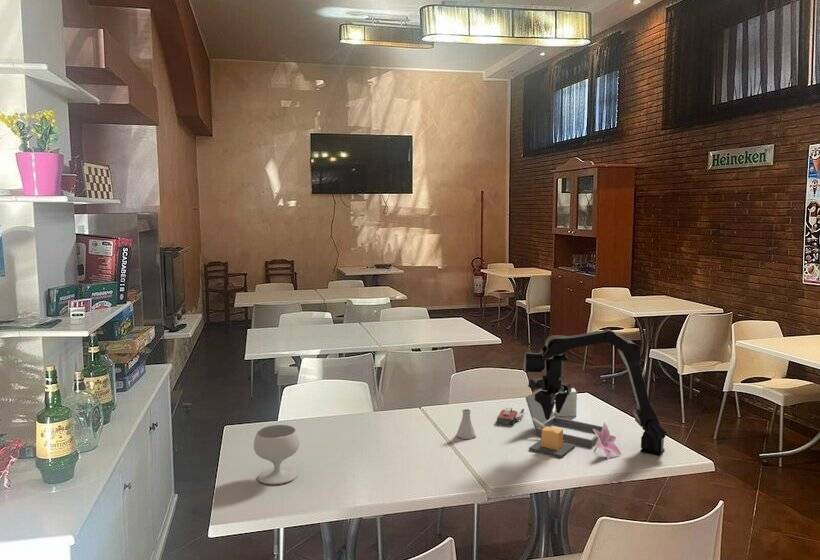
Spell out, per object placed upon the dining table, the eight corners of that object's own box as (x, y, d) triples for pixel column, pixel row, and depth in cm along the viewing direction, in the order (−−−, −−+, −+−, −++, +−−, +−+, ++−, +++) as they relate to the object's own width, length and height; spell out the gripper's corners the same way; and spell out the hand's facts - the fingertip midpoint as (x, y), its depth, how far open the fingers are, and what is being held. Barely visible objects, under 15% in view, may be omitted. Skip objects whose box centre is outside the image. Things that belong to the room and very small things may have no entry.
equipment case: (607, 434, 227) (608, 398, 226) (590, 448, 213) (591, 410, 211) (543, 420, 242) (543, 386, 241) (523, 433, 228) (523, 397, 227)
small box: (574, 412, 252) (574, 387, 251) (576, 416, 247) (577, 391, 246) (554, 411, 253) (555, 387, 252) (556, 416, 248) (557, 391, 247)
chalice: (258, 468, 196) (257, 424, 195) (302, 467, 197) (301, 422, 196) (250, 487, 182) (249, 439, 181) (297, 486, 183) (296, 438, 182)
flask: (479, 438, 223) (479, 411, 222) (461, 440, 220) (462, 414, 219) (470, 431, 230) (470, 406, 229) (453, 434, 227) (453, 408, 226)
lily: (588, 463, 203) (603, 442, 199) (576, 438, 213) (589, 418, 209) (618, 470, 206) (632, 450, 202) (604, 445, 216) (618, 425, 212)
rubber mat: (575, 447, 214) (575, 444, 213) (561, 458, 204) (561, 455, 204) (543, 440, 221) (543, 437, 221) (529, 450, 211) (529, 447, 211)
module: (562, 446, 212) (563, 429, 212) (557, 450, 209) (558, 433, 208) (546, 442, 216) (547, 426, 215) (541, 446, 212) (541, 429, 212)
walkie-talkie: (517, 428, 234) (525, 412, 253) (518, 417, 234) (526, 402, 253) (495, 425, 237) (504, 410, 256) (495, 415, 237) (505, 400, 256)
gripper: (543, 363, 222) (542, 405, 223) (520, 374, 207) (519, 418, 208) (572, 368, 215) (571, 411, 217) (551, 379, 200) (550, 425, 202)
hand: (552, 416), depth 211 cm, fingers open, 9 cm apart
